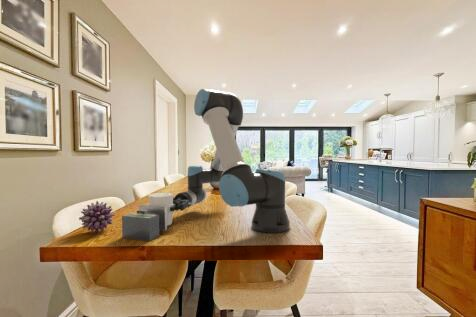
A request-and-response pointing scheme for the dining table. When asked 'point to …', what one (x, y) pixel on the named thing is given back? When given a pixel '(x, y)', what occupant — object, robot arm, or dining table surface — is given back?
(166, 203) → the white cream cup
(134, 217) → the box
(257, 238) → the dining table surface
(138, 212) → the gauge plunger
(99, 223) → the flower
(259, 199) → the robot arm
